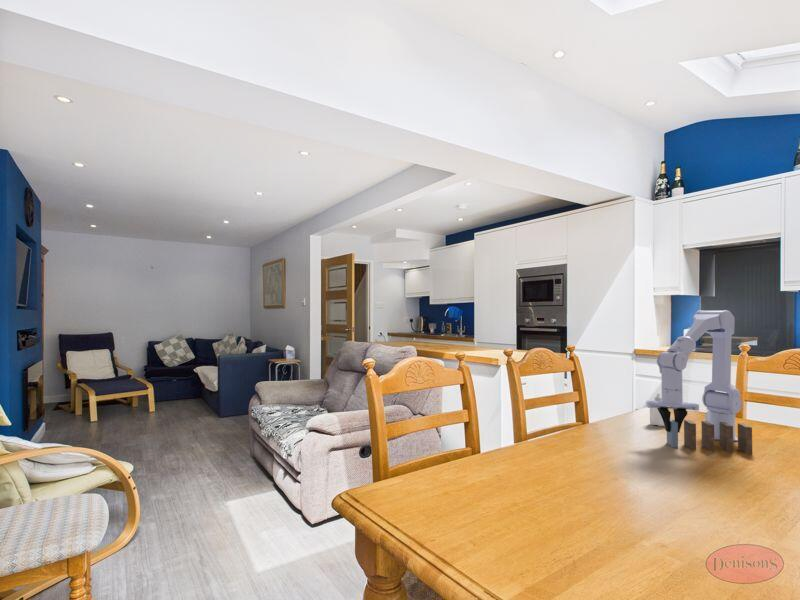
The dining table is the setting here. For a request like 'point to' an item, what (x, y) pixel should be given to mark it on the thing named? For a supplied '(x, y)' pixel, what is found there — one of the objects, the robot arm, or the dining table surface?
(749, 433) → the domino
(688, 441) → the domino
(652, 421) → the eye dropper bottle
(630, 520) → the dining table surface
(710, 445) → the domino
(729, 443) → the domino
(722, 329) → the robot arm
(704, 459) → the dining table surface
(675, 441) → the domino
